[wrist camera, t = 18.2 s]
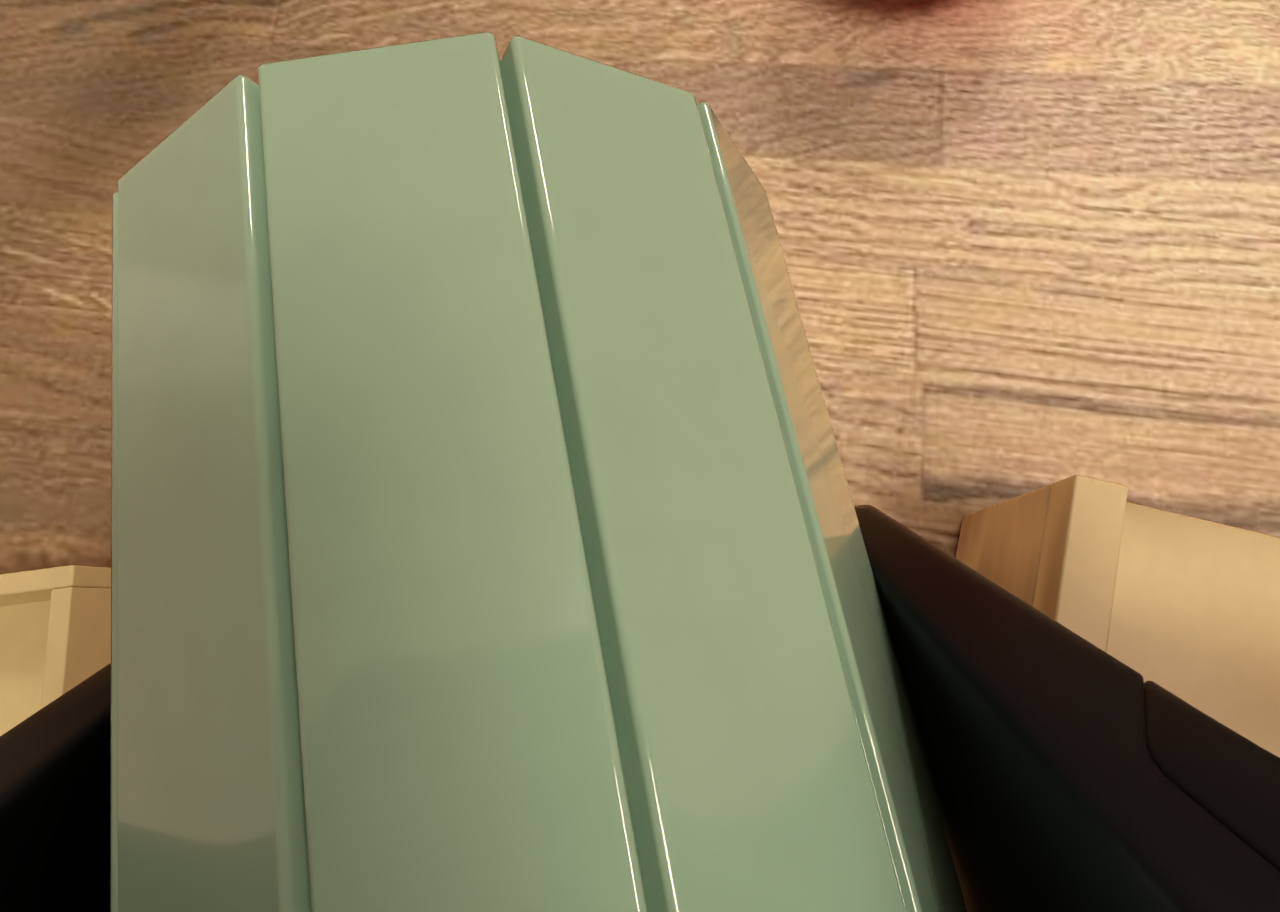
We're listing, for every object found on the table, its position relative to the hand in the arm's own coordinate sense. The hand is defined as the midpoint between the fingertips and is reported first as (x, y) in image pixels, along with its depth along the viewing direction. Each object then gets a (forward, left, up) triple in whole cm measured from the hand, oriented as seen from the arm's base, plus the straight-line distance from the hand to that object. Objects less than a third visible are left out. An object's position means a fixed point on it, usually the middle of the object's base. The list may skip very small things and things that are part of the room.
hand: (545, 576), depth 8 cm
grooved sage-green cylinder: (-2, 0, +1) cm, 2 cm away
